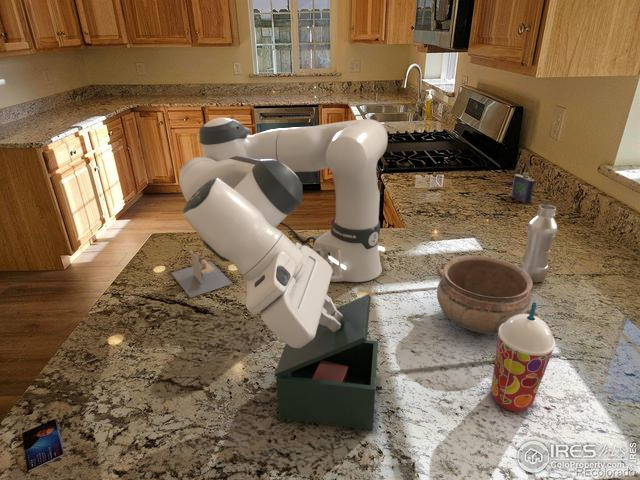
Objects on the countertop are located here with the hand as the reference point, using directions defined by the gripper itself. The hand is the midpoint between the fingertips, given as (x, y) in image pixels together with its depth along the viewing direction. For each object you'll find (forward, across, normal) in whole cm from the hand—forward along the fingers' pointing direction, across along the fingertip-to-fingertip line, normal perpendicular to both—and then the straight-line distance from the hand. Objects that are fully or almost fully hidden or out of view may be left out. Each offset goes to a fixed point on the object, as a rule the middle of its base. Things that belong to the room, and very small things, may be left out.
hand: (338, 324), depth 68 cm
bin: (+10, 0, -12) cm, 16 cm away
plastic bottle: (+43, -48, +20) cm, 67 cm away
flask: (+52, -109, +29) cm, 124 cm away
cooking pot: (+31, -26, +8) cm, 42 cm away
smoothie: (+32, -4, +10) cm, 34 cm away
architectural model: (-18, -36, -40) cm, 57 cm away
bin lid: (0, 0, -3) cm, 3 cm away
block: (+10, 0, -12) cm, 15 cm away
